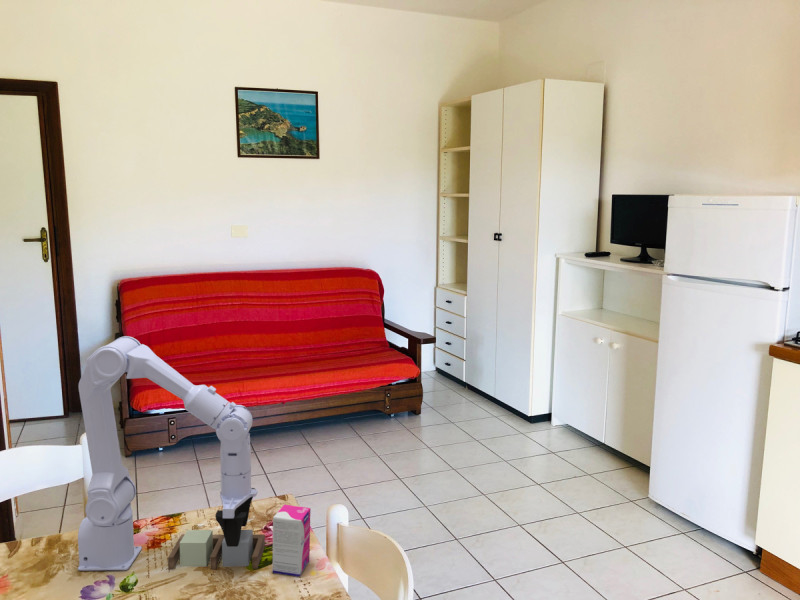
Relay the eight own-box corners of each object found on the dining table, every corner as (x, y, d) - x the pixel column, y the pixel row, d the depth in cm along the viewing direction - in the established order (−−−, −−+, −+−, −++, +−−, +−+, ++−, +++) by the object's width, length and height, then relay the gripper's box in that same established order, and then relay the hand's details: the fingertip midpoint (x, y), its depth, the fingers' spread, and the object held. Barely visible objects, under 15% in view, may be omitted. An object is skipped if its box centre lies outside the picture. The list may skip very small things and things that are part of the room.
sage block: (180, 566, 125) (179, 542, 124) (188, 553, 129) (187, 529, 129) (206, 567, 125) (205, 542, 124) (213, 553, 130) (212, 530, 129)
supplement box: (300, 577, 122) (300, 520, 120) (271, 573, 123) (270, 517, 121) (311, 561, 127) (311, 506, 125) (283, 557, 128) (282, 503, 127)
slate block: (222, 566, 125) (222, 542, 124) (228, 553, 130) (227, 529, 129) (248, 566, 125) (248, 542, 124) (253, 552, 130) (252, 529, 129)
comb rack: (168, 569, 123) (167, 557, 123) (181, 546, 132) (181, 534, 131) (257, 568, 124) (257, 556, 124) (264, 545, 133) (264, 534, 132)
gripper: (249, 486, 118) (250, 555, 120) (263, 455, 132) (263, 517, 134) (210, 486, 117) (212, 555, 119) (228, 455, 132) (229, 517, 134)
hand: (237, 535), depth 127 cm, fingers open, 7 cm apart
